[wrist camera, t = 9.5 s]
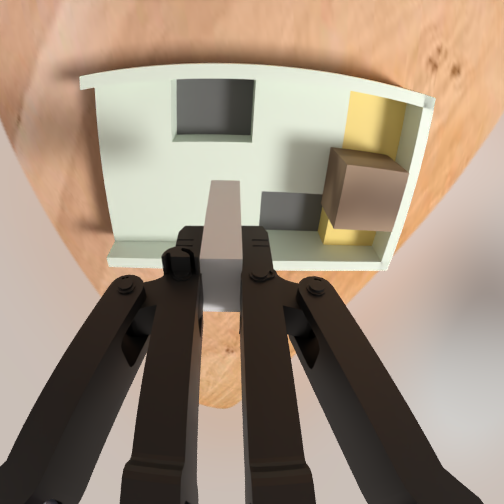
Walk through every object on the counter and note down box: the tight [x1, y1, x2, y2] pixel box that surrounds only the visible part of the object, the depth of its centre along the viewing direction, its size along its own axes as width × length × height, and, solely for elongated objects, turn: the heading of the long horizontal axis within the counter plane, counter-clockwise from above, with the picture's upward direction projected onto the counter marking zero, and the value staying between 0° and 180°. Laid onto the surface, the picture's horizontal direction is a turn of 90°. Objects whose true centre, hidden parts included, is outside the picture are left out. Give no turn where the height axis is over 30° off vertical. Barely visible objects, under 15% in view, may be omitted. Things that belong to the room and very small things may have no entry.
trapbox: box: [79, 63, 436, 271], centre depth 23 cm, size 16×25×5 cm, turn 87°
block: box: [321, 147, 409, 232], centre depth 22 cm, size 5×5×4 cm
